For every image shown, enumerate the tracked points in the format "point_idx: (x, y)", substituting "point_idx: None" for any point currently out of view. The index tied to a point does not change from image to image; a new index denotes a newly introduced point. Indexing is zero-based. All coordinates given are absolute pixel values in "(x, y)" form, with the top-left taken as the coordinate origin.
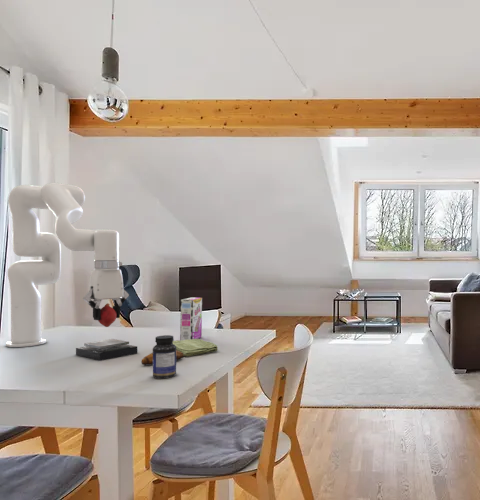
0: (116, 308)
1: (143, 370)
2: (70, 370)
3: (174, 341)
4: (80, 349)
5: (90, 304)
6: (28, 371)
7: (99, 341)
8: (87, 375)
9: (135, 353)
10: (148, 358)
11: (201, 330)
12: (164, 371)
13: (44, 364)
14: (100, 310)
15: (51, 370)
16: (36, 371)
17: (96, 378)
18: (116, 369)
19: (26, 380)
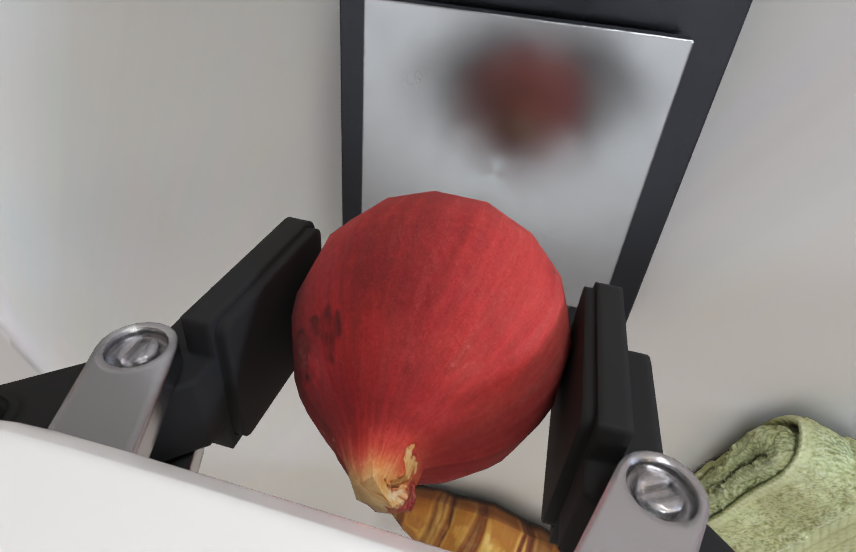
0: (548, 481)
1: (360, 508)
2: (183, 288)
3: (804, 502)
4: (341, 3)
5: (48, 399)
6: (31, 123)
7: (501, 53)
8: None
9: None
10: (402, 526)
11: None
12: None
13: (112, 26)
14: (258, 417)
15: (120, 210)
16: (63, 161)
17: (213, 443)
18: (312, 430)
19: (27, 266)
